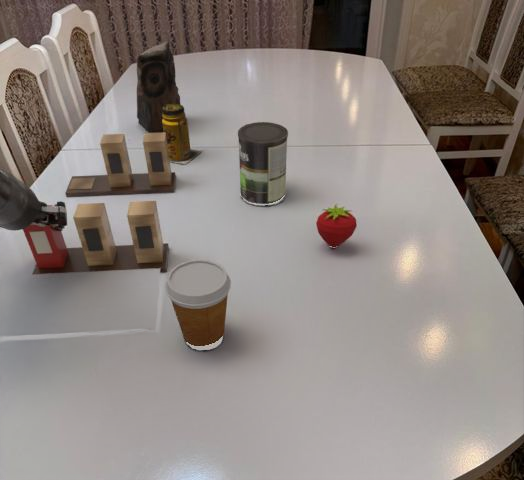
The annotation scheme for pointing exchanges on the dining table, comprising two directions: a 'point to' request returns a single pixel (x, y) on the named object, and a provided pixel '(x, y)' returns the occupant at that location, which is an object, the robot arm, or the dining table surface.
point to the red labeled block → (46, 246)
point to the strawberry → (336, 225)
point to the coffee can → (262, 162)
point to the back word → (128, 170)
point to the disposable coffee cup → (199, 299)
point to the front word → (102, 243)
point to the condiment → (177, 134)
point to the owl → (155, 86)
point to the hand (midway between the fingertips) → (45, 226)
